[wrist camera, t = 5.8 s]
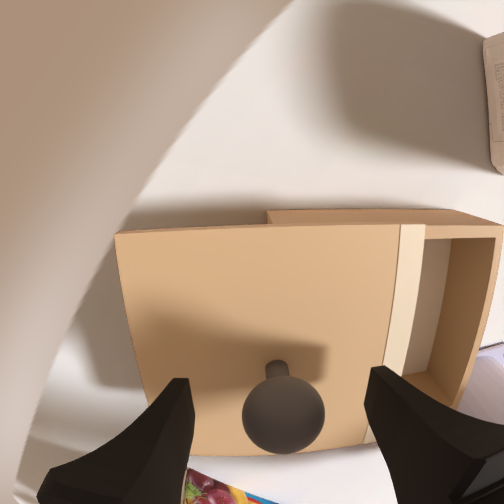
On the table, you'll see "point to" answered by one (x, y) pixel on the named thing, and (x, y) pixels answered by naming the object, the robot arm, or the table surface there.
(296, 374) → the lid
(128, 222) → the table surface
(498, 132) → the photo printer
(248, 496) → the juice carton
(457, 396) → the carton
